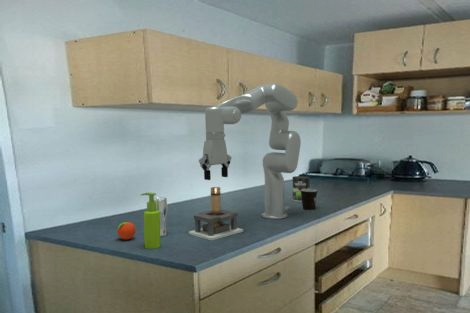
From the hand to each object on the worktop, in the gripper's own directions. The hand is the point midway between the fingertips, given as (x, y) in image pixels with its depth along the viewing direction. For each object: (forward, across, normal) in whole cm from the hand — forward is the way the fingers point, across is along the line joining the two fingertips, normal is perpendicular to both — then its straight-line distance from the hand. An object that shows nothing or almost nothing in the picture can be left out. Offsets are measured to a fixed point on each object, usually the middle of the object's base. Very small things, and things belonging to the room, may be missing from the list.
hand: (216, 178), depth 160 cm
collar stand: (+23, +1, 0) cm, 23 cm away
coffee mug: (+25, -64, +1) cm, 69 cm away
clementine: (+22, +32, -19) cm, 43 cm away
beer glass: (+23, +19, -15) cm, 33 cm away
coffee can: (+25, -83, -16) cm, 88 cm away
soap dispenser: (+22, +30, -4) cm, 38 cm away
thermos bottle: (+22, +1, 0) cm, 22 cm away
